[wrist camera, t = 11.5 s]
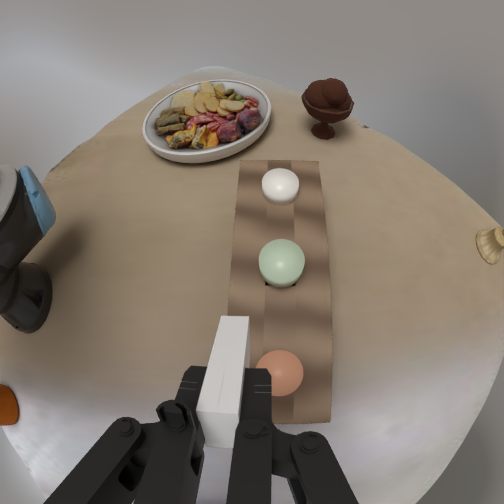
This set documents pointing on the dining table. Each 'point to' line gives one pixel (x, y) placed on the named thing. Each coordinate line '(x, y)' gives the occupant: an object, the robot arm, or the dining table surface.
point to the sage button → (281, 263)
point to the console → (286, 298)
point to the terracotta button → (282, 371)
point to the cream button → (280, 186)
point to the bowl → (207, 121)
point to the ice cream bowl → (327, 105)
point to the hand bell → (490, 244)
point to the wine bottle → (7, 406)
